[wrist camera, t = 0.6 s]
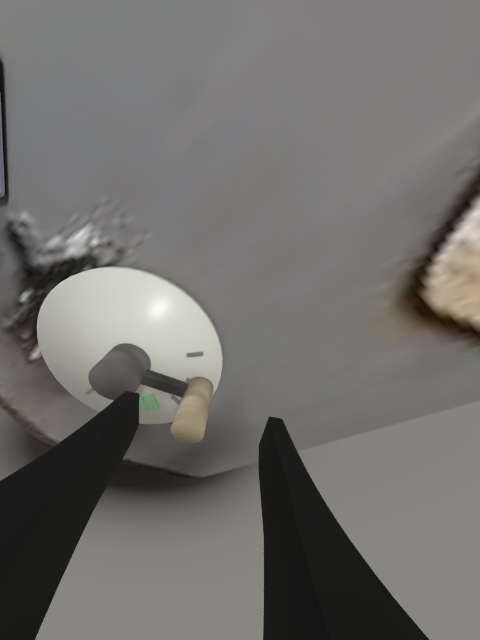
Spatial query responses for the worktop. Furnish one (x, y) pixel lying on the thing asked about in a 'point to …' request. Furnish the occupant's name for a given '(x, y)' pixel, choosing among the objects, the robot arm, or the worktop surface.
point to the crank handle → (134, 369)
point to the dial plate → (127, 334)
